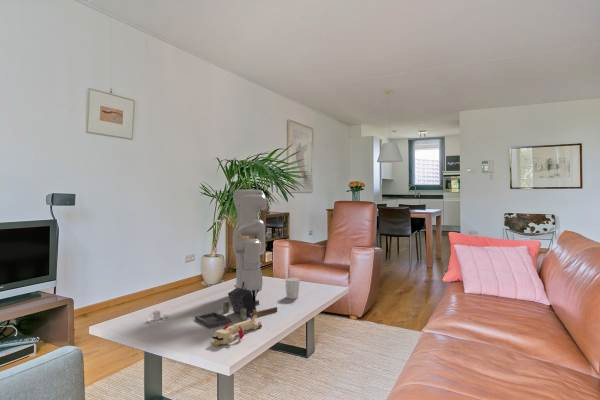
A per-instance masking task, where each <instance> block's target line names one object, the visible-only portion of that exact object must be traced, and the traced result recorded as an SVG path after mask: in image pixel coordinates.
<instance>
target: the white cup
mask: <svg viewBox="0 0 600 400" xmlns="http://www.w3.org/2000/svg"><path fill="white" fill-rule="evenodd" d="M300 280H301V279H300V278H297V277H288V278H285V294H286V298H287V299H291V300H292V299H293V300H294V299H298V298H299V292H300Z"/></svg>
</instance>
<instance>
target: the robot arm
mask: <svg viewBox="0 0 600 400" xmlns="http://www.w3.org/2000/svg"><path fill="white" fill-rule="evenodd" d="M232 199H233V204H234V207H235V210H236V217H237V218H236V219H237V221H236V222H237V224H236V226H235V228H234V229H233V233H232V250H233V252H234V254H235V263H236V265H235V266H236V271H235V272H236V273H235V274H236V278H235V283H236V284H234V288H235V289H236V288H237V287H238V288H241V289H243V290H249V291H251V294H252V297H253V300H254V304H255V302H256V300H257V299H256V297H257V296H258V295H257V294H258V293H259V292H261V291H262V290H263V289H262V288H263V273H262V269H261V266H262V262H261V255H264V254H265V252H266V226H265V222H264V221H263V220H262V219H258V217H257V211H265V210H266V209H267V205H268V204H267V201H268V200H267V197H266V195H265V193H264V191H263V190H262V189H236V190H234V192H233V193H232ZM239 236H240V237H256V238H239Z"/></svg>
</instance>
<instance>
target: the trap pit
mask: <svg viewBox="0 0 600 400" xmlns="http://www.w3.org/2000/svg"><path fill="white" fill-rule="evenodd" d="M194 319H195V320H194V321H197V322H199V323H200V324H202V325H204V326H205V327H208V328H209V329H214V328H217V327H221V326H226V325H227V324H228V323H230V324H232V323H233V322H232V318H229V317H228V316H226V315H224V314H221V313H220V312H218V311H212V312H207V313H203V314H199V315H195V316H194Z"/></svg>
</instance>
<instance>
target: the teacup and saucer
mask: <svg viewBox="0 0 600 400" xmlns="http://www.w3.org/2000/svg"><path fill="white" fill-rule="evenodd" d="M149 316H150V317H149V318H148V319H146V321H147V322H148V323H154V324H155V323H162V322H164V321H166V320H167V318H168V317H169V313H164V314H161V310H154V311H152V312H151V313H150V315H149ZM152 316H153V317H152ZM160 319H161V320H160ZM151 320H153V321H151Z"/></svg>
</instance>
